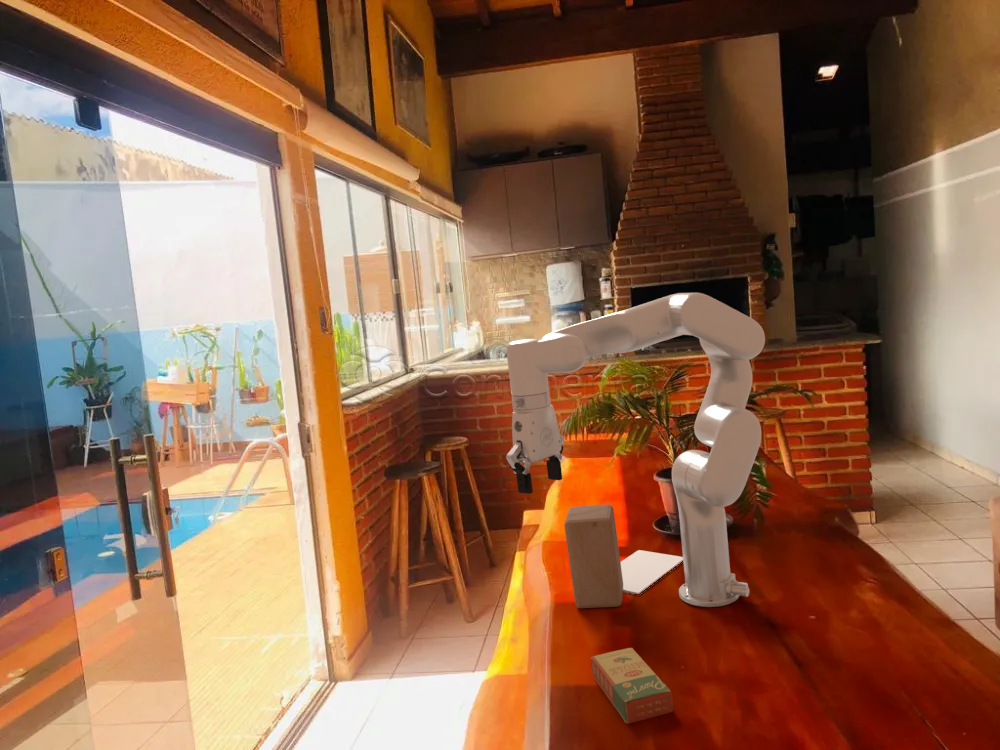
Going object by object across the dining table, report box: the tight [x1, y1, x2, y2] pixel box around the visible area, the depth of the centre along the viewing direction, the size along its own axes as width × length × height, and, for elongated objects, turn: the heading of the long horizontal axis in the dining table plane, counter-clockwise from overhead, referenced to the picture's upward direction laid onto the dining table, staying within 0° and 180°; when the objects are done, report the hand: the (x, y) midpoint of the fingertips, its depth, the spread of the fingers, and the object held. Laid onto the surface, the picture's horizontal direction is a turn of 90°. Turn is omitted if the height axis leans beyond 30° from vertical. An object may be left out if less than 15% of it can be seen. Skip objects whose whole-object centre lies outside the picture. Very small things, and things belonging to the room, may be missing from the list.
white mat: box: [620, 549, 683, 595], centre depth 179 cm, size 13×22×1 cm, turn 139°
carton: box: [590, 647, 674, 725], centre depth 129 cm, size 8×16×4 cm, turn 13°
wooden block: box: [564, 504, 624, 609], centre depth 165 cm, size 10×10×20 cm
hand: (540, 485), depth 152 cm, fingers open, 9 cm apart
